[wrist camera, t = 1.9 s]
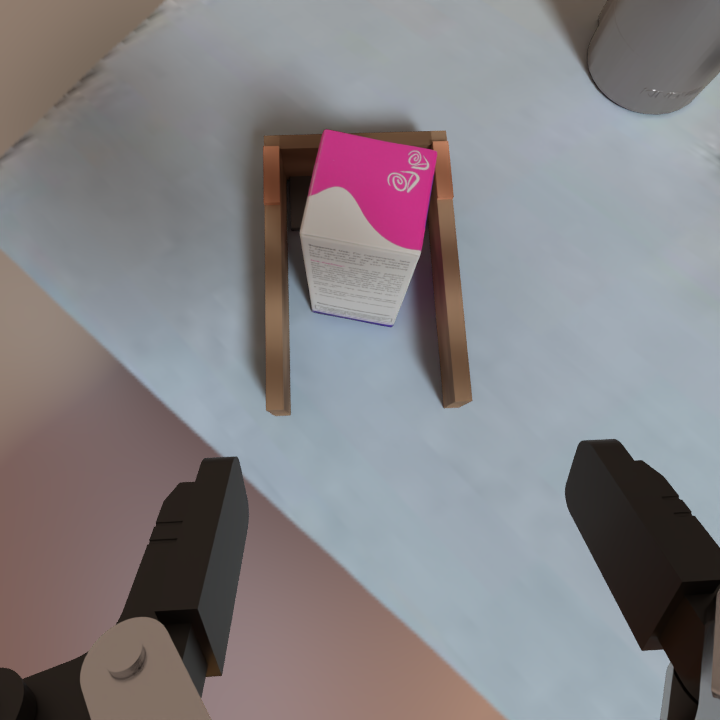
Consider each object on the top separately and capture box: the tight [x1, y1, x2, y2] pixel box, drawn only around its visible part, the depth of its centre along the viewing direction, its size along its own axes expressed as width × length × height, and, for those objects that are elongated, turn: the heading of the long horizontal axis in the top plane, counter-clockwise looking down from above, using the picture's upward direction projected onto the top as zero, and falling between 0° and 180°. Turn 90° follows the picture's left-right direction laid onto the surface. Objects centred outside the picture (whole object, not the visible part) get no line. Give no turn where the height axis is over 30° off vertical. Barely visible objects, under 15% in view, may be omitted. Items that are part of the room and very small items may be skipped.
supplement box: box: [300, 129, 437, 327], centre depth 28 cm, size 6×6×12 cm
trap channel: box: [263, 131, 472, 416], centre depth 31 cm, size 18×12×4 cm, turn 3°
